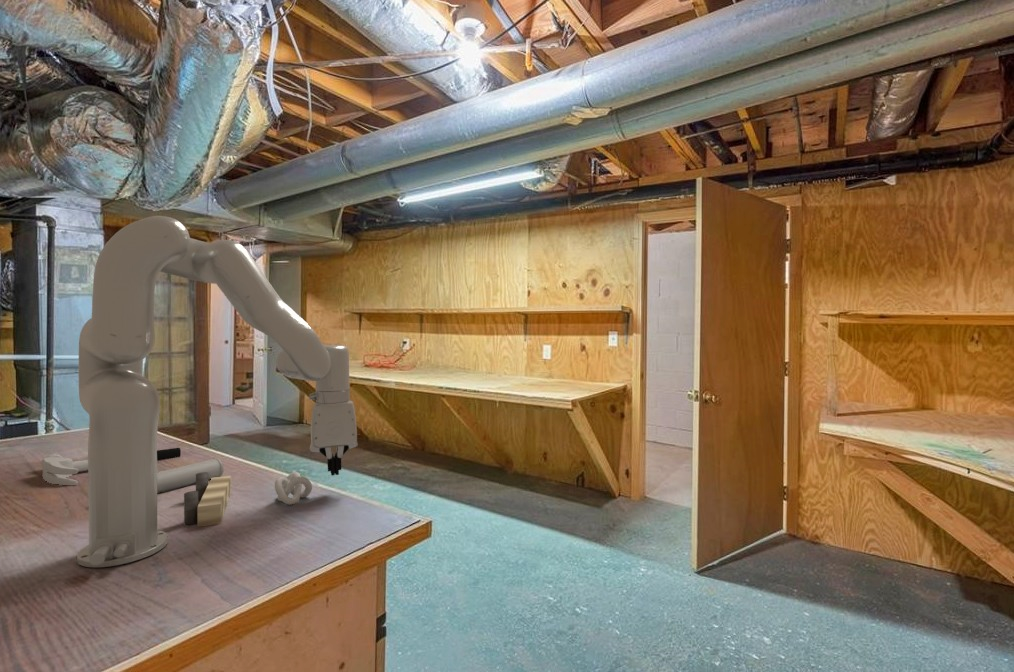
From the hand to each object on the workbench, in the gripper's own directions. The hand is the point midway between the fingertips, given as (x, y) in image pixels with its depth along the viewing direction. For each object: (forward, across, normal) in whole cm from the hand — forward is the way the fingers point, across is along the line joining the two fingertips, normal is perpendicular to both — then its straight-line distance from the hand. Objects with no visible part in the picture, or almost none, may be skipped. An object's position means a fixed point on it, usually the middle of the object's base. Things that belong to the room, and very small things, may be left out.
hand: (334, 473), depth 116 cm
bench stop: (+4, -26, +1) cm, 26 cm away
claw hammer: (+5, -53, +45) cm, 70 cm away
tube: (+5, -37, +19) cm, 42 cm away
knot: (+5, -10, 0) cm, 11 cm away
